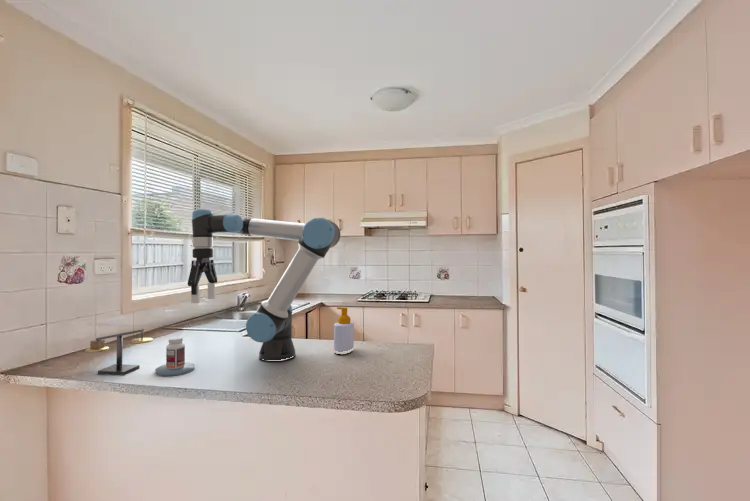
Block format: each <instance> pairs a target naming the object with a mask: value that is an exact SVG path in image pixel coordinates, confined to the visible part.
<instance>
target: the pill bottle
mask: <svg viewBox="0 0 750 501" xmlns="http://www.w3.org/2000/svg"><path fill="white" fill-rule="evenodd" d="M168 343H169V344H167V345H166V348H165V349H166V352H165V353H166V356H165V357H166V359H165V360H166V361H165V363H166V364H165V365H166V368H167V369H172V370H173V369H179V368H182V367H184V365H185V362H186V361H185V360H186V359H185V356H186V355H185V354H186V350H185V349H186V348H185V346H186V345H185V343H184V342H183V337H182V336H173V337H169V338H168Z"/></svg>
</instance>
